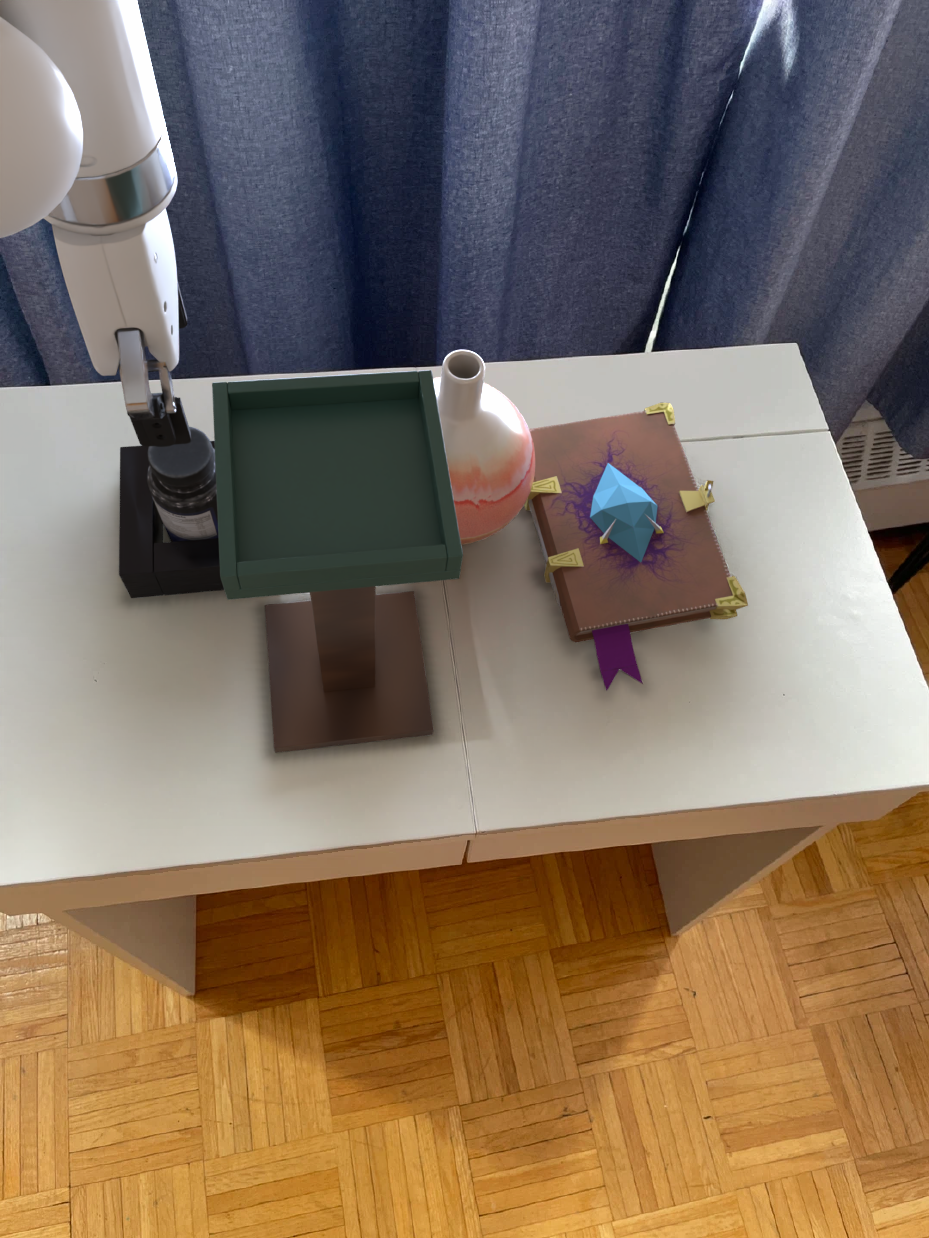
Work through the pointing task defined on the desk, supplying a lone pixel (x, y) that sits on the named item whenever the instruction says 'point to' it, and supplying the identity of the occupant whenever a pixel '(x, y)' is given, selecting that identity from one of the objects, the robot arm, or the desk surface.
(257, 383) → the tray
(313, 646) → the stand
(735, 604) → the book
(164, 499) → the pill bottle
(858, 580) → the desk surface
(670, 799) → the desk surface
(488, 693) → the desk surface
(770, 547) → the desk surface
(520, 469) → the vase
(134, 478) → the holder
